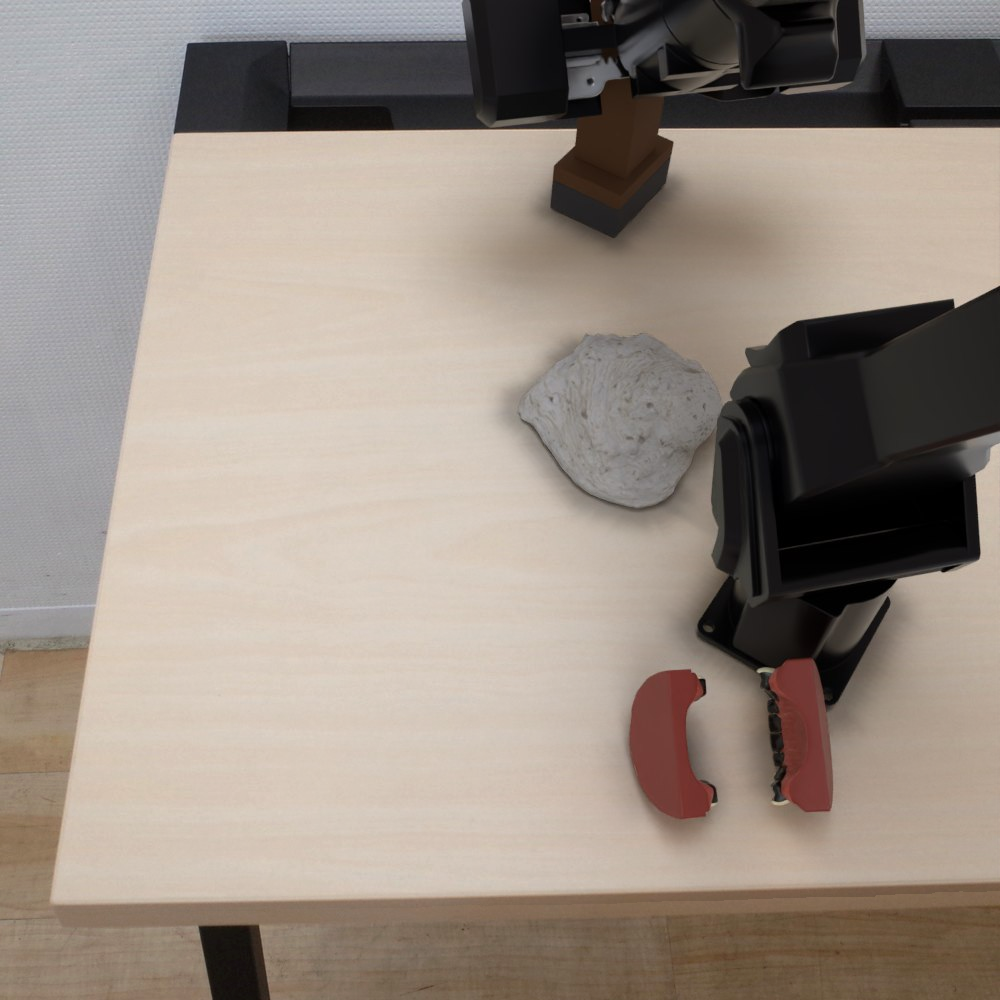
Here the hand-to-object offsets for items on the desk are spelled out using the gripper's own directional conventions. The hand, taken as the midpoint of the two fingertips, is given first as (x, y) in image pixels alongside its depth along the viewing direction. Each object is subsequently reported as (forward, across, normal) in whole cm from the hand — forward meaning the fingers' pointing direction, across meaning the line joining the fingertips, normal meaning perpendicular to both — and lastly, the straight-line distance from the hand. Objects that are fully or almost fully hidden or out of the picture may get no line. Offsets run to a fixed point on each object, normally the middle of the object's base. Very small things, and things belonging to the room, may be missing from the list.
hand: (617, 74), depth 59 cm
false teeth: (-22, +9, +28) cm, 37 cm away
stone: (-8, +5, +18) cm, 20 cm away
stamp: (+4, 0, +6) cm, 7 cm away
